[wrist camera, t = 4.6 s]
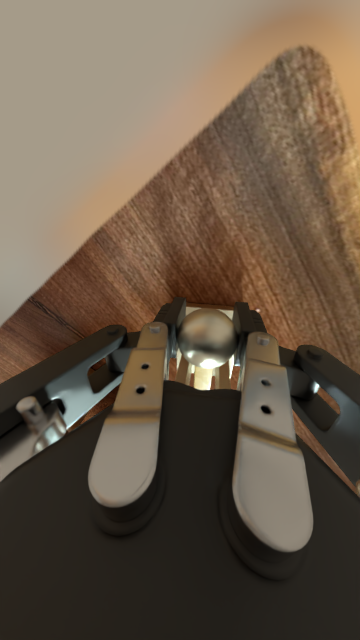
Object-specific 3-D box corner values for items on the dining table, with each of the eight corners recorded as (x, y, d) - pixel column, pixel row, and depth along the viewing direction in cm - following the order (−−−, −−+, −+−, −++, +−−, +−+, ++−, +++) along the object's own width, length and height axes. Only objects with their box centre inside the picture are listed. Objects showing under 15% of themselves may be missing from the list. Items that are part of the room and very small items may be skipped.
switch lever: (181, 293, 10) (169, 336, 8) (241, 298, 10) (246, 345, 8) (184, 398, 19) (179, 433, 17) (216, 403, 19) (215, 440, 16)
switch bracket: (178, 301, 24) (144, 377, 13) (242, 307, 23) (264, 395, 12) (178, 365, 30) (154, 455, 19) (230, 372, 28) (237, 472, 18)
